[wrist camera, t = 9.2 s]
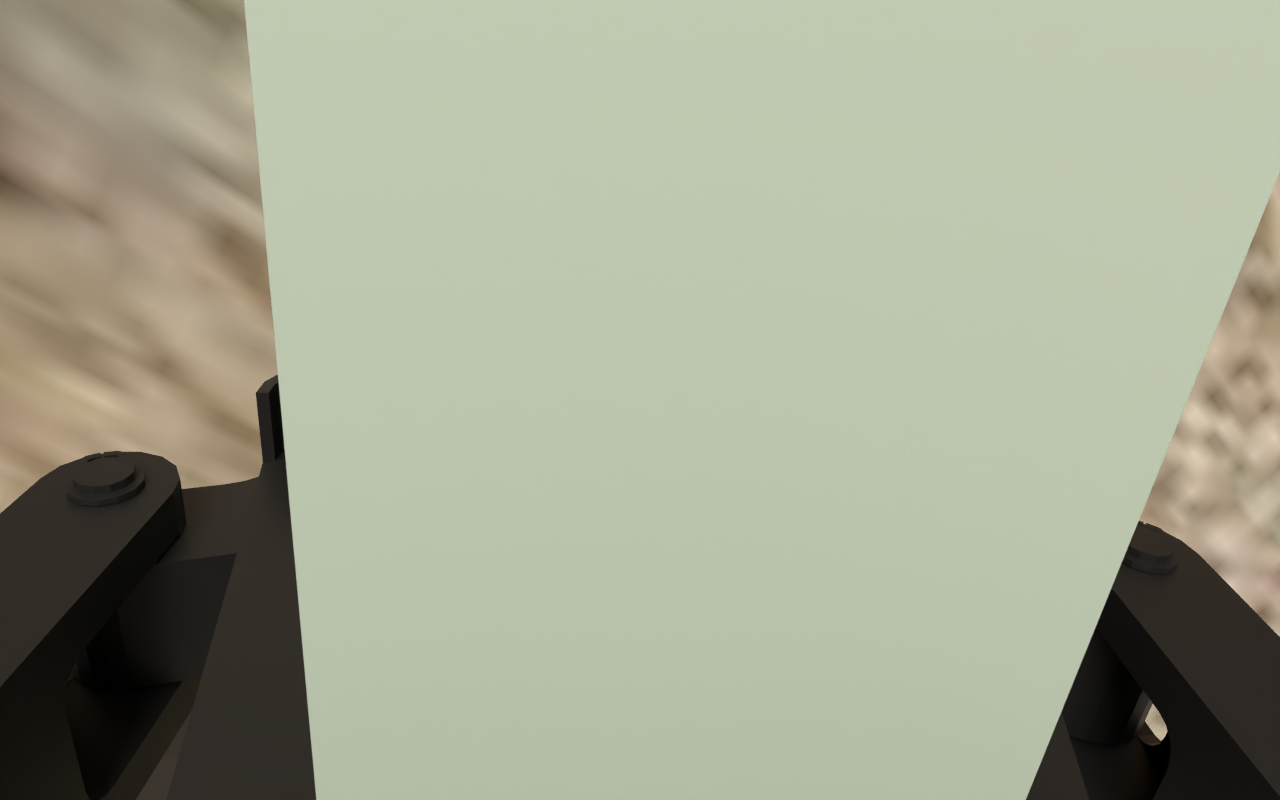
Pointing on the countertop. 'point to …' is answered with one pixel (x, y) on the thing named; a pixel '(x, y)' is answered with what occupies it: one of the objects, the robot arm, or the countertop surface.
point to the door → (733, 373)
